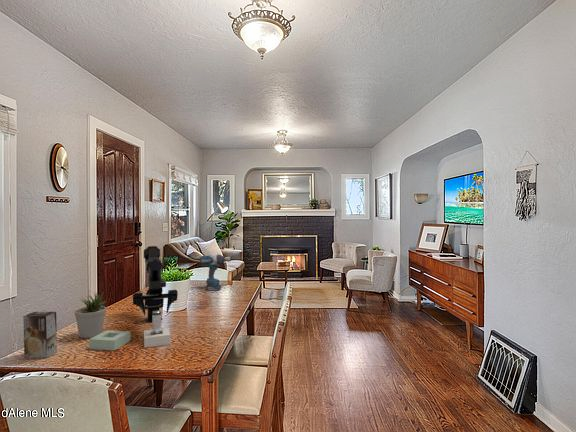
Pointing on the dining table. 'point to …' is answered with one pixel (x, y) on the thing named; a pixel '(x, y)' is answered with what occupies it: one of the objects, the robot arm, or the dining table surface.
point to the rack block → (109, 340)
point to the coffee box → (40, 334)
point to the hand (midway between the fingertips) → (156, 313)
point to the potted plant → (90, 317)
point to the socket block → (156, 338)
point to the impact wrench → (213, 269)
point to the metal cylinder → (156, 322)
